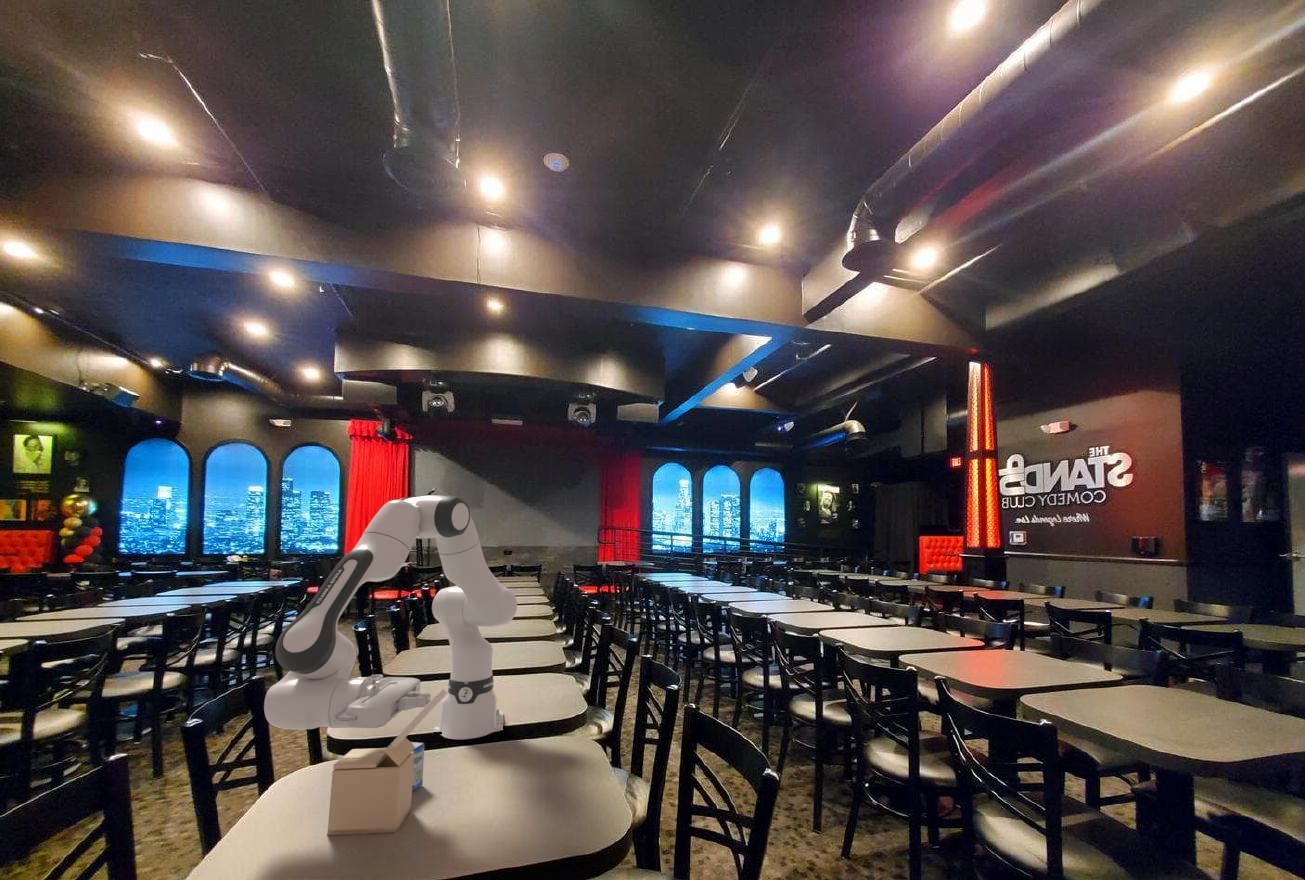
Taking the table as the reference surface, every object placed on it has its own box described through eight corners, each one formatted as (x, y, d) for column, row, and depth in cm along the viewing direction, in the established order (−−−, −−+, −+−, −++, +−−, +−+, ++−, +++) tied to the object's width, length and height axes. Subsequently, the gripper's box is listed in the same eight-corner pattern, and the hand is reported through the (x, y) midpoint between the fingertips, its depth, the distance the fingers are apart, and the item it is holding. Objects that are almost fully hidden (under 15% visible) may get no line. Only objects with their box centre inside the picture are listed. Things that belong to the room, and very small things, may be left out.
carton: (347, 813, 108) (352, 748, 110) (410, 810, 109) (414, 745, 111) (327, 835, 100) (333, 764, 102) (395, 831, 101) (399, 762, 103)
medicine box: (399, 802, 112) (402, 756, 113) (380, 800, 113) (383, 755, 114) (422, 785, 120) (425, 742, 121) (404, 783, 120) (407, 741, 122)
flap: (398, 735, 110) (445, 686, 113) (412, 750, 110) (459, 700, 112) (383, 750, 103) (434, 697, 105) (398, 765, 103) (449, 712, 105)
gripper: (330, 701, 98) (410, 698, 99) (378, 672, 118) (444, 670, 119) (327, 739, 97) (408, 736, 98) (376, 703, 117) (442, 701, 118)
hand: (428, 700), depth 109 cm, fingers closed, pressing on flap
